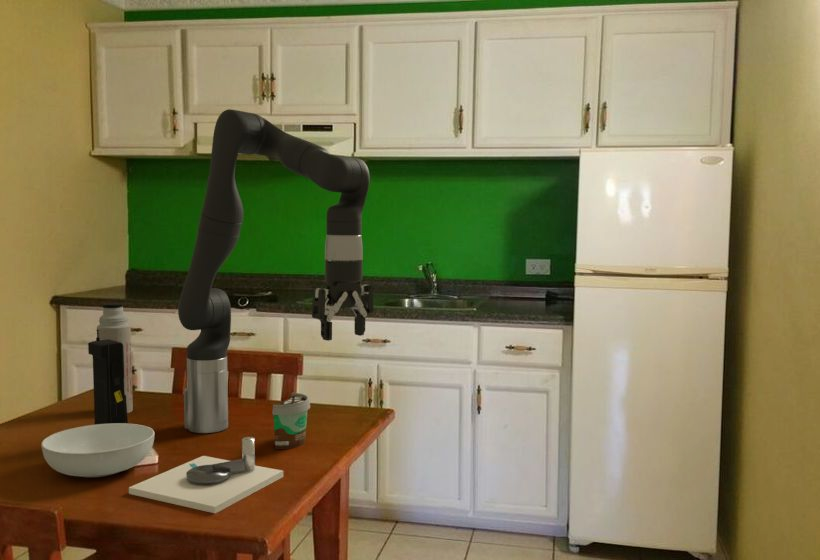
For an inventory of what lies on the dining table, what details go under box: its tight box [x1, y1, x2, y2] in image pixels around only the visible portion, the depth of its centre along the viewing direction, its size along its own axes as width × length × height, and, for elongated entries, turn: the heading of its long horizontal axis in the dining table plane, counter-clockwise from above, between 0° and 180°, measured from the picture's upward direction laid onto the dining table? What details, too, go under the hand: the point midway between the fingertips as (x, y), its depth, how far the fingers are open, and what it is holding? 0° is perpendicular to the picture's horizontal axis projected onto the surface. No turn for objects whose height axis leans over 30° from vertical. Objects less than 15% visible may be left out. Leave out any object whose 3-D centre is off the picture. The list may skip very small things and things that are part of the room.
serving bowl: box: [40, 423, 155, 478], centre depth 150 cm, size 21×21×7 cm
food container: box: [271, 392, 311, 450], centre depth 167 cm, size 12×6×10 cm, turn 168°
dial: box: [186, 436, 256, 484], centre depth 143 cm, size 13×8×6 cm, turn 124°
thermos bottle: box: [96, 302, 134, 414], centre depth 192 cm, size 8×8×28 cm
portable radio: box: [87, 329, 129, 425], centre depth 166 cm, size 8×6×25 cm
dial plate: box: [128, 455, 284, 514], centre depth 142 cm, size 20×20×1 cm
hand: (343, 337), depth 152 cm, fingers open, 8 cm apart
